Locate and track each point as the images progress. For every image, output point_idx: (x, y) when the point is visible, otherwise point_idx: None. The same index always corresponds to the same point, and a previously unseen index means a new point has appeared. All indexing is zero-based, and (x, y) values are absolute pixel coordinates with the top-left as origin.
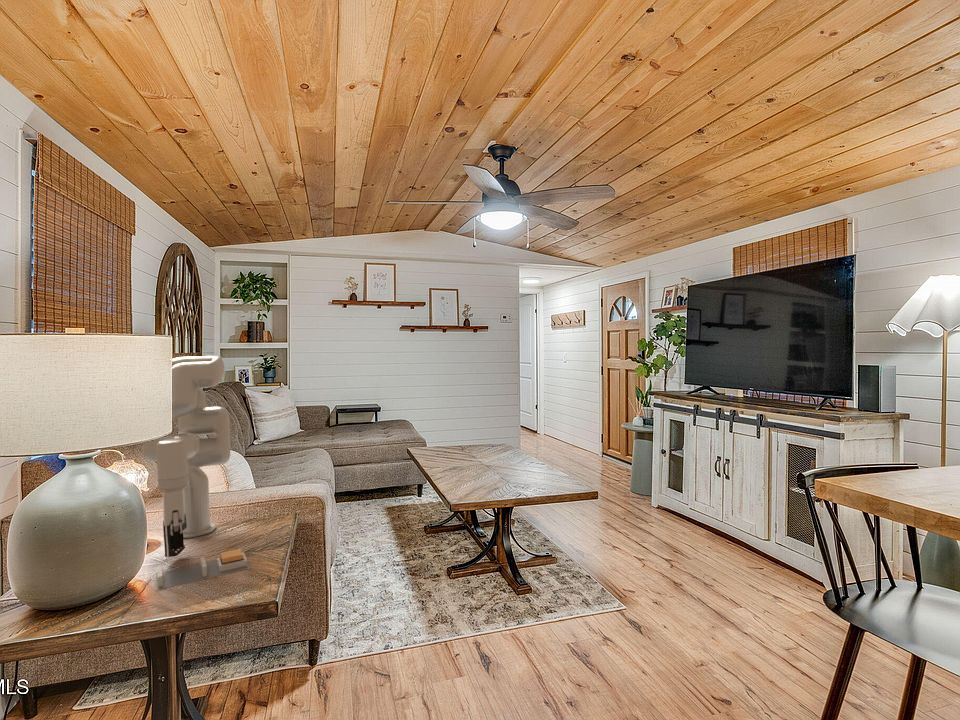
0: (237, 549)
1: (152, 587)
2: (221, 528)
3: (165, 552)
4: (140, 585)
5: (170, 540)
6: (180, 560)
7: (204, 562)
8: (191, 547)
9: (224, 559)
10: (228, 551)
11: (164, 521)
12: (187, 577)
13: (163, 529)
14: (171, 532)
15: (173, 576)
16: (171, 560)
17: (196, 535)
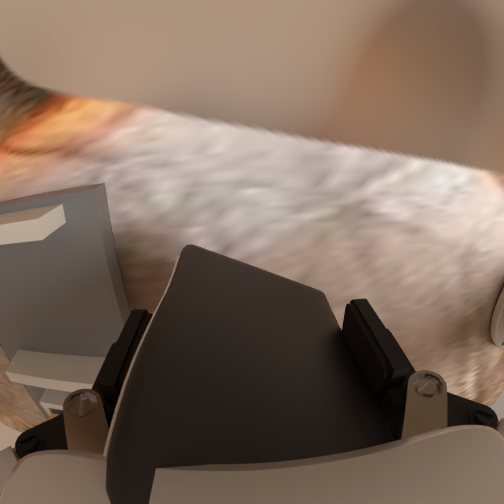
0: None
1: (27, 182)
2: (491, 356)
3: (180, 260)
4: (66, 126)
5: (112, 355)
6: (304, 273)
7: (39, 384)
8: (426, 301)
9: None
10: None
11: (6, 501)
12: (16, 312)
13: (126, 399)
14: (67, 420)
15: (33, 268)
16: (333, 235)
17: (497, 307)
